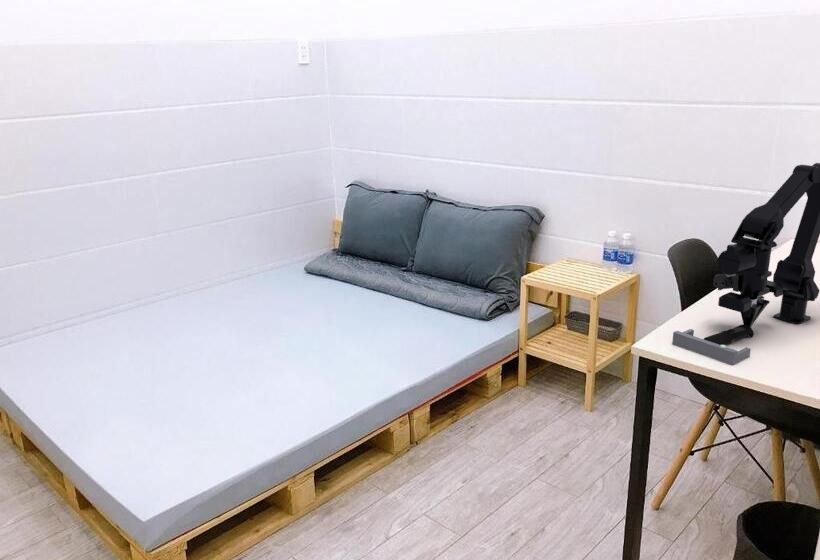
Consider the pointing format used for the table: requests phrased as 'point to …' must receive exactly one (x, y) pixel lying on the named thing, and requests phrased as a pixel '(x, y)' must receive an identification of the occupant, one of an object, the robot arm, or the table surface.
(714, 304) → the table surface
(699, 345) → the charging dock
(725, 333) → the electric trimmer
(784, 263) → the robot arm
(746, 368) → the table surface
